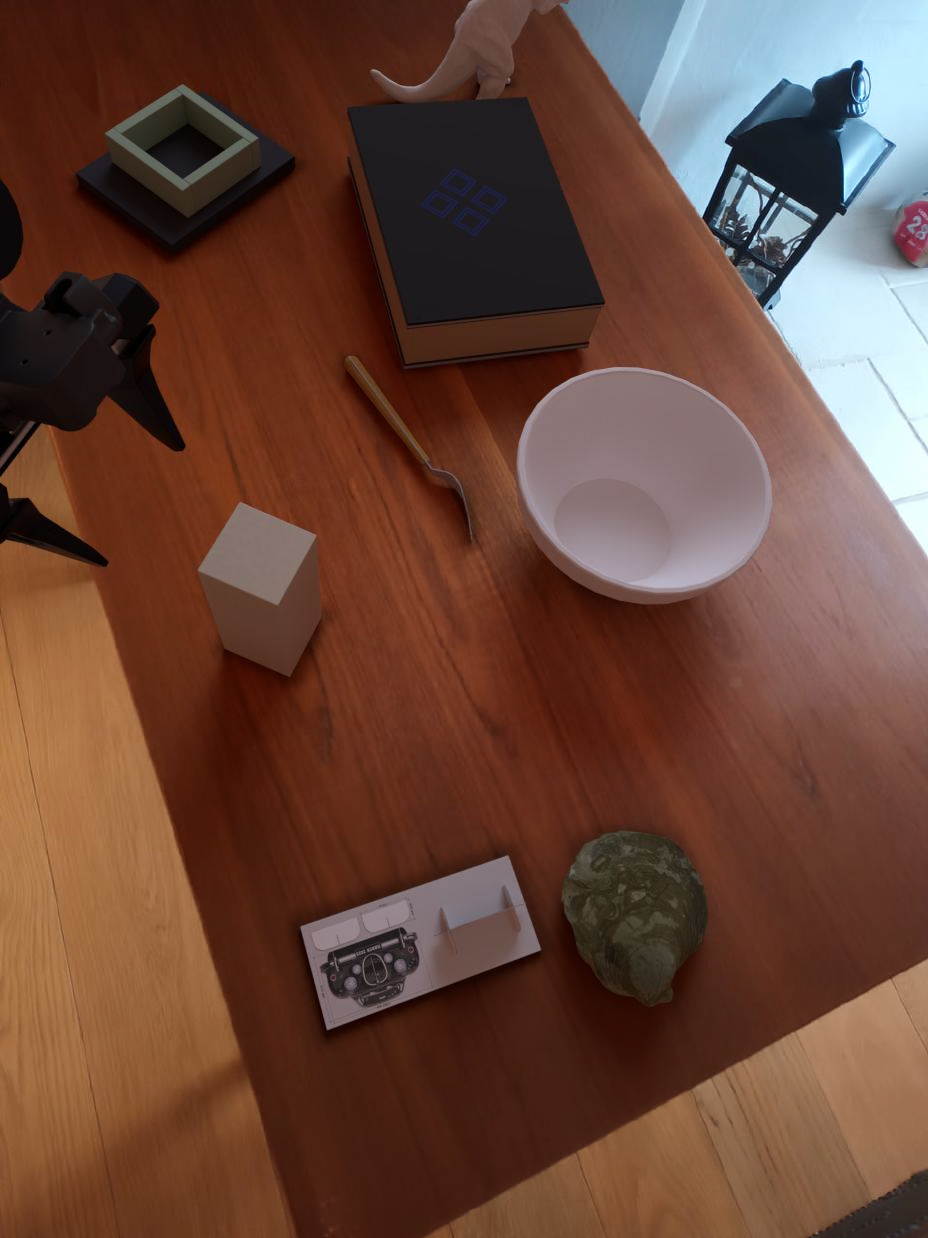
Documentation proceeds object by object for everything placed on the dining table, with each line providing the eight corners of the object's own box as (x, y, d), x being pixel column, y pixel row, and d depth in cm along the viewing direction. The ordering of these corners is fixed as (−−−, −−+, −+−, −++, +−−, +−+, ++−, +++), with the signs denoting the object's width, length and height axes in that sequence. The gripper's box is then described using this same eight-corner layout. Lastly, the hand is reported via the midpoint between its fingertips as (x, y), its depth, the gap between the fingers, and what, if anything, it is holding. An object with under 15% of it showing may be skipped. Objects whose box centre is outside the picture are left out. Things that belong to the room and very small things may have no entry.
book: (514, 156, 89) (527, 95, 83) (586, 353, 80) (606, 301, 74) (346, 168, 85) (347, 105, 79) (402, 375, 76) (407, 323, 70)
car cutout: (507, 855, 62) (519, 846, 58) (540, 950, 60) (554, 948, 56) (300, 926, 58) (297, 922, 54) (327, 1030, 56) (326, 1034, 52)
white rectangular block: (223, 648, 65) (196, 570, 52) (258, 589, 67) (239, 501, 55) (289, 677, 65) (277, 606, 52) (321, 617, 67) (317, 534, 54)
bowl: (552, 674, 67) (584, 629, 59) (460, 467, 74) (476, 398, 65) (762, 601, 72) (820, 550, 64) (660, 413, 79) (700, 342, 70)
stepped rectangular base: (174, 255, 78) (165, 217, 74) (78, 183, 80) (65, 143, 76) (295, 166, 84) (293, 127, 80) (204, 101, 86) (198, 60, 82)
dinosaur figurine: (539, 57, 95) (572, -96, 81) (569, 119, 92) (608, -30, 78) (361, 73, 90) (365, -87, 77) (386, 139, 87) (395, -16, 74)
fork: (335, 357, 74) (469, 532, 69) (353, 345, 74) (488, 519, 69) (341, 373, 77) (472, 543, 71) (359, 362, 77) (490, 530, 71)
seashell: (685, 814, 63) (736, 909, 54) (692, 894, 66) (741, 997, 56) (546, 840, 63) (573, 940, 53) (559, 919, 66) (586, 1027, 56)
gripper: (-148, 438, 35) (138, 642, 46) (102, 150, 42) (298, 383, 53) (-233, 452, 42) (34, 627, 52) (-4, 202, 49) (188, 399, 60)
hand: (143, 505), depth 54 cm, fingers open, 9 cm apart
